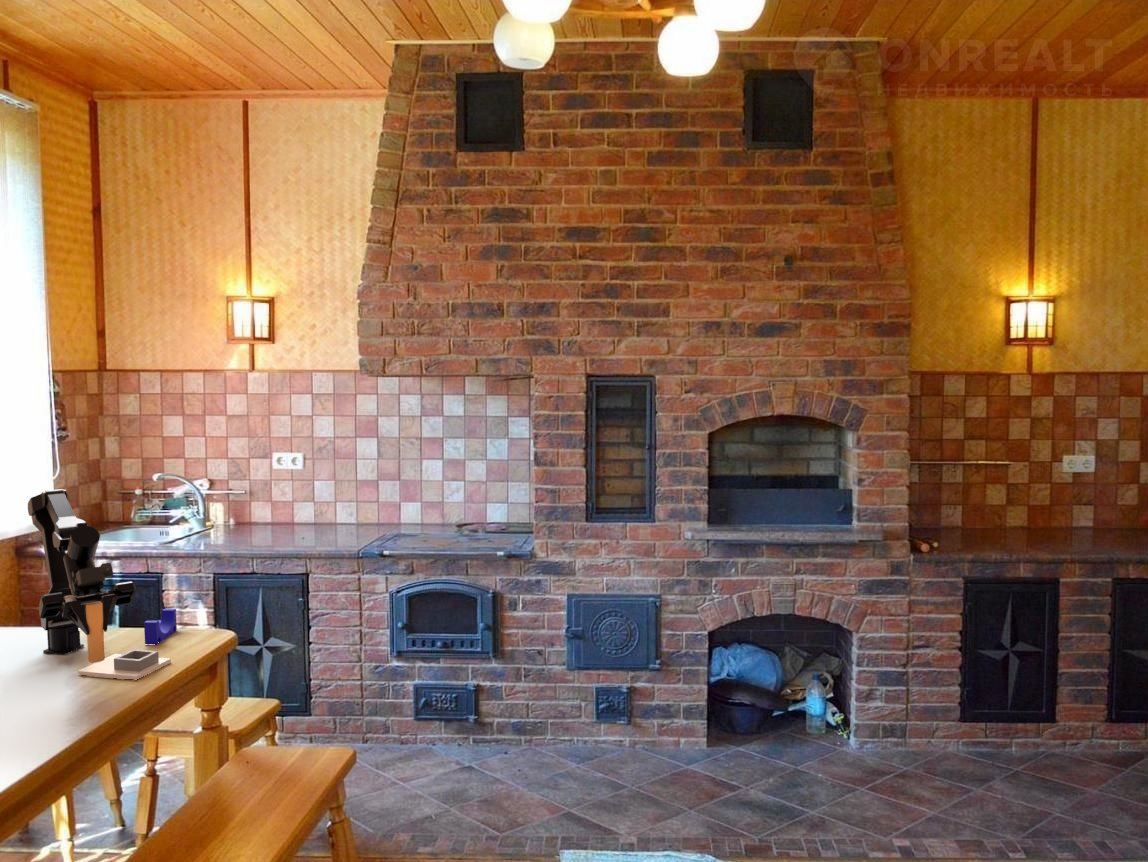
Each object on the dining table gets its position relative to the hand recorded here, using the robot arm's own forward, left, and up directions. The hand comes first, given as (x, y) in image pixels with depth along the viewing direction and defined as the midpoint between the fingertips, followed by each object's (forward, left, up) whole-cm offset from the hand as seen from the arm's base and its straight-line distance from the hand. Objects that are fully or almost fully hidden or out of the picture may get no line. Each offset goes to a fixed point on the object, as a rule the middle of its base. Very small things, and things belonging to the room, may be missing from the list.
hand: (96, 632), depth 201 cm
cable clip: (-10, +33, -13) cm, 37 cm away
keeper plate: (-3, +12, -12) cm, 17 cm away
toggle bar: (-1, +1, -7) cm, 7 cm away
